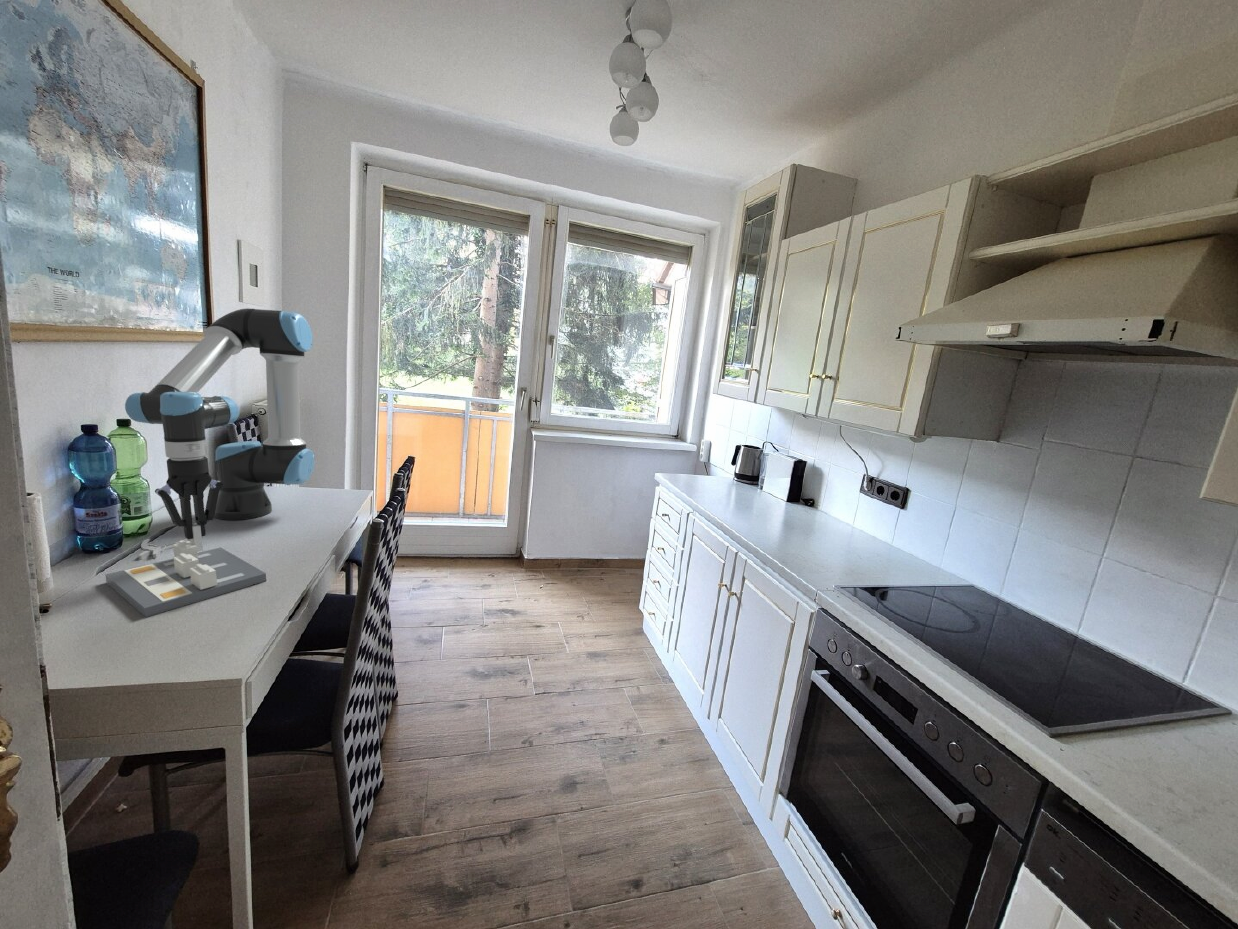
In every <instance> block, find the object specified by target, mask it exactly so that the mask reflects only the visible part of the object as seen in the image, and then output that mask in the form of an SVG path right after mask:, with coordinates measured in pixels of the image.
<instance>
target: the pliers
mask: <svg viewBox="0 0 1238 929" xmlns="http://www.w3.org/2000/svg"><path fill="white" fill-rule="evenodd" d="M182 540H183V541H185V542H187V541H188V539H187V538H186V537H185V538H184V539H182ZM150 541H151V538H146V539H145V540H144V541H142V543H141V544H140V548H141V549H142V550H143V551H142V552H141V553H139V554H138V560H139V561H142V560H144V559H147V558H148V557H150V556H152V558H153V560H155V559H154V558H156V559H158V557H160V555H161V553H162V552H165V551H167V550H171V549H174V548H173V544H178V543H179V541H177V542H176V541H175V542H171V543H168V544H164V545H162V548H161V546H158V545H156V544H152V543H149V542H150ZM189 541H190V539H189ZM165 546H166V547H165Z"/></svg>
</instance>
